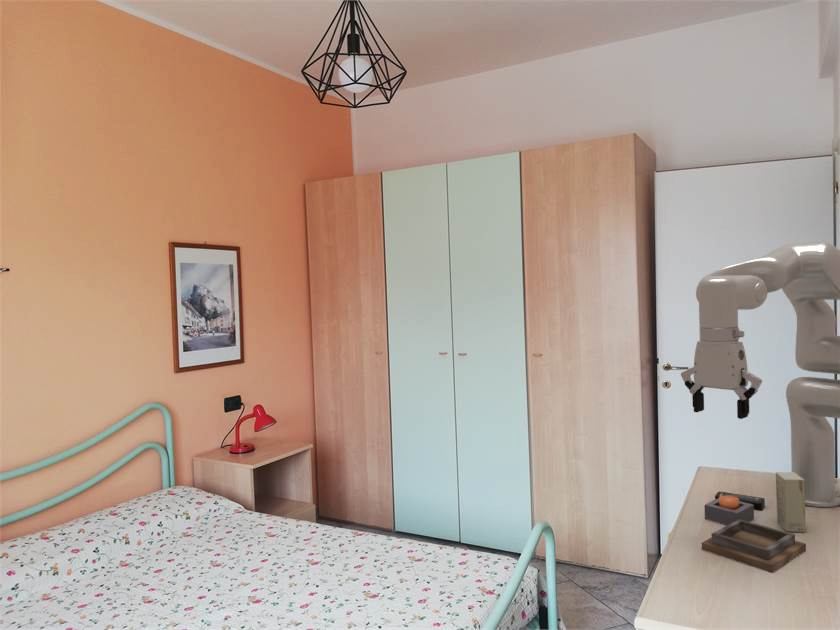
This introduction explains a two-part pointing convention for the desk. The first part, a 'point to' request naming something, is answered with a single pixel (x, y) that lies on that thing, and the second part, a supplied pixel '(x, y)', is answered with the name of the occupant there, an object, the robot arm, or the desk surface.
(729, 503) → the button
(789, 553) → the square wooden tray
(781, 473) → the skincare box
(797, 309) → the robot arm
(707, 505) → the button housing
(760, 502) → the multiport hub
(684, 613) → the desk surface
